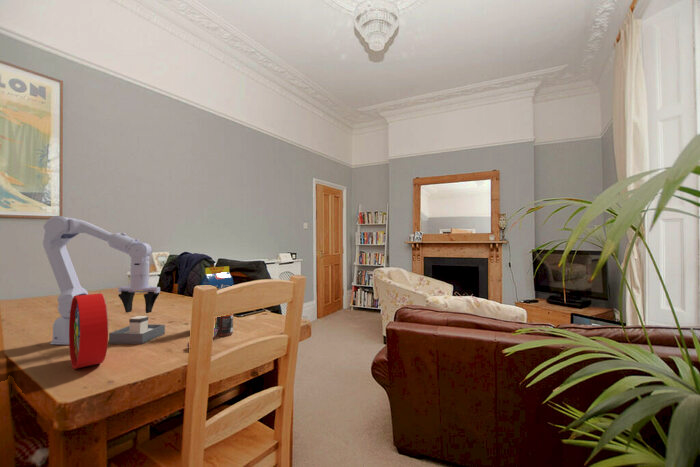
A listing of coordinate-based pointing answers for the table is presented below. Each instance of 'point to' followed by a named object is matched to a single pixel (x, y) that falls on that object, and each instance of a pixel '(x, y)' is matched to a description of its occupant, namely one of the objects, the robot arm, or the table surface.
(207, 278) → the blue food package
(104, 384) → the table surface
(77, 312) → the toy clock
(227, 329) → the supplement bottle
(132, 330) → the plug
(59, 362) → the table surface
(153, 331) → the walled box
